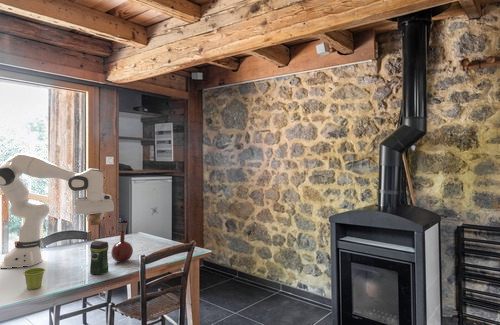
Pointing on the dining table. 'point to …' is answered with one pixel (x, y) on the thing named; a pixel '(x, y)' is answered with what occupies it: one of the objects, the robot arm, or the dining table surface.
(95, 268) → the coffee jar
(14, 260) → the robot arm
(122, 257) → the round-bottom flask
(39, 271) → the plant pot
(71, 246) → the dining table surface
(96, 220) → the walnut box
